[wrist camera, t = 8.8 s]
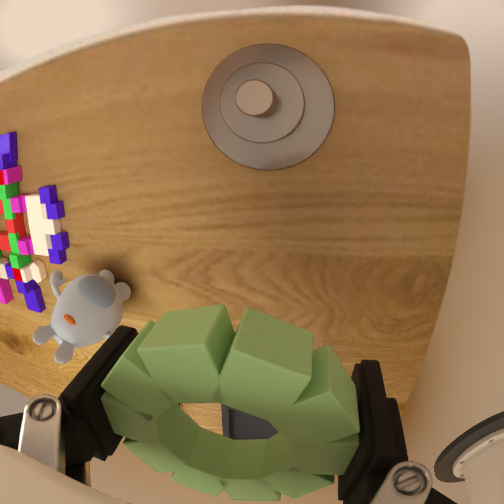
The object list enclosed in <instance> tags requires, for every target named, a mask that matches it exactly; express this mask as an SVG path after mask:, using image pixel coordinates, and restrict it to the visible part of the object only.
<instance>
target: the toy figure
mask: <svg viewBox="0 0 504 504" xmlns="http://www.w3.org/2000/svg"><path fill="white" fill-rule="evenodd" d="M61 277H62V272H61V271H59V270H55V271H53V272H52V274H51V276H50V284H51V288H52V290H53V293H54V294H55V296H56V298H57V303H56V305H55V308H54V311H53V314H52V318H51V322H50V325H49V326H42V327H38V328H37V329H36V330H35V332H34V334H33V340H34V342H35V343H36V344H38V345H42V344H44V343H45V342H47V341H48V340H49V339H51V338H52V337H53V338H54V339H55V340H56V342H57V343H58V344H60V347H59V348H58V349H57V351H56V352H55V354H54V359H55V361H56V362H58V363H61V364H64V363H66V362H68V361H69V360H70V359H71V358H72V355H73V349H75V348H81V347H85V346H88V345H91V344H94V343H96V342H99V341H101V340H103V339H104V338H106V339H108V338H109V337H110V336H111V335H112V334H111V333H113V332H114V331H115V329H116V328H117V327H118V325H119V323H120V321H121V318H122V314H123V302H122V301H126V300H128V299H129V297H130V295H131V289H130V287H129V286H128V285H127V284H126V283H124V282H118V283H116V284H115V285H114V282H115V278H114V275H113V274H112V272H111V271H109V270H106V269H105V270H102V271H100V272H99V274H98V275H96V274H85V275H81V276H79V277H77V278H75V279H73V280H72V281H71V282H70V283H69V284H68V285H67V286H66V287H65V289H64V290H63V292H62V293H60V292H59V290H58V286H59V285H61V284H63V283H65V282H66V278H65V277H63V278H61Z"/></svg>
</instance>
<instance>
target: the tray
mask: <svg viewBox="0 0 504 504" xmlns="http://www.w3.org/2000/svg"><path fill="white" fill-rule="evenodd" d="M221 407H222V426H223V436H225V437H228V438H231V439H233V440H251V439H269V438H270V437H272V436H274V435H276V434H278V433H279V432H278V431H277V430H276V429H275V428H274V427H273V425H272V424H271V423H270V422H269V421H268V420H265V419H262V418H259V417H256V416H253V415H250V414H248V413H245V412H242V411H239V410H237V409H234V408H231V407H229V406H226V405H223V404H221Z"/></svg>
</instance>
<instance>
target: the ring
mask: <svg viewBox="0 0 504 504" xmlns="http://www.w3.org/2000/svg"><path fill="white" fill-rule="evenodd" d="M312 344H313V333H312V332H311V331H308V330H306V329H303V328H301V327H298V326H295V325H293V324H290V323H288V322H285V321H283V320H280V319H278V318H275V317H273V316H270V315H268V314H265V313H263V312H260V311H258V310H255V309H253V308H250V307H247V308H246V309H245V312H244V314H243V316H242V318H241V321H240V323H239V325H238V328H237V330H236V332H234V329H233V326H232V323H231V321H230V318H229V315H228V312H227V309H226V306H225V305H224V304H219V305H213V306H206V307H199V308H192V309H185V310H178V311H170V312H165V313H164V314H163V315H162V316H161V318H160V319H159V320H158V322H157V323H156V324H155V323H154V322H153V321H151V320H150V321H148V322H147V324H146V325H145V326H144V327H143V329H142V330H141V331H140V332H139V334H138V335H137V336H136V338H135V339H134V340H133V341H132V343H131V344H130V345H129V346H128V348H127V349H126V350H125V352H124V353H123V354H122V355H121V357H120V358H119V360H118V361H117V362H116V364H115V365H114V367H113V368H112V369H111V371H110V372H109V374H108V375H107V377H106V378H105V379H104V381H103V382H102V384H101V387H102V388H103V389H105V390H106V391H105V393H104V394H103V395H102V397H101V401H102V403H103V406H104V409H105V411H106V414H107V416H108V419H109V421H110V424H111V426H112V429H113V431H114V433H115V434H118V435H121V436H124V437H126V438H125V440H124V442H123V444H124V445H125V446H126V447H127V448H128V449H129V450H130V451H132V452H133V453H134V454H135V455H136V456H137V457H139V458H140V459H141V460H142V461H144V462H145V463H146V464H147V465H149V466H150V467H151V468H152V469H154V470H155V471H156V472H170V471H174V472H173V474H172V477H171V480H172V481H174V482H177V483H180V484H182V485H185V486H187V487H190V488H193V489H196V490H198V491H201V492H204V493H207V494H210V495H213V496H218V494H219V493H220V492H221V491H222V490H223V489H224V490H225V491H226V493H227V494H228V495H229V497H230V498H231V499H232V500H249V501H280V498H281V493H282V494H284V495H287V496H290V497H292V498H298V497H300V496H303V495H306V494H309V493H311V492H314V491H316V490H319V489H321V488H324V487H326V486H329V485H331V484H333V483H334V475H344V473H345V471H346V469H347V467H348V465H349V464H350V462H351V460H352V458H353V456H354V454H355V452H356V450H357V448H358V446H359V432H360V427H359V416H358V405H357V396H356V386H355V384H354V383H353V381H352V379H351V378H350V376H349V375H348V373H347V372H346V370H345V368H344V367H343V365H342V364H341V362H340V361H339V359H338V357H337V356H336V354H335V353H334V351H333V350H332V348H331V346H330V345H326V346H323V347H321V348H319V349H316V350H314V351H312ZM179 403H221V404H223V405H226V406H229V407H231V408H234V409H237V410H239V411H242V412H245V413H248V414H250V415H253V416H256V417H259V418H262V419H265V420H268V421H269V422H270V423H271V424H272V425H273V427H274V428H275V429H276V430H277V431H278V432H279V433H278V434H276V435H274V436H272V437H270V438H269V439H251V440H233V439H231V438H228V437H225V436H222V435H220V434H217V433H214V432H212V431H209V430H206V429H204V428H201V427H200V426H199V425H198V424H197V423H196V422H195V421H194V420H193V419H192V418H191V417H190V416H189V415H187V414H186V413H185V412H184V411H183V410H182V409H181V408H180V407H179Z"/></svg>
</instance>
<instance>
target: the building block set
mask: <svg viewBox="0 0 504 504" xmlns="http://www.w3.org/2000/svg"><path fill="white" fill-rule="evenodd" d="M16 160H17V143H16V132H11V133H7V134H3V135H0V214H4V215H5V221H6V227H7V232H3V231H0V302H1V303H4V304H7V303H9V302H10V301H11V300H13V299H14V298H13V295H12V292H11V288H10V285H9V281H8V279H10V278H12V279H15V282H16V285H17V289H18V292H19V293H23V294H24V297H25V301H26V304H27V307H28V309H29V310H32V311H36V312H39V313H41V312H42V311H43V310H45V309H46V308H45V305H44V301H43V297H42V294H41V290H40V286H37V283H38V282H40V281H42V280H43V279H45V278H46V277H47V274H46V269H45V265H44V263H43V262H42V261H40V260H39V259H38V260H36V261H35V262H31V258H30V254H37V255H44V256H49V259H50V263H54V264H62V263H63V262H65V261H66V255H65V249H66V248H68V247H69V242H68V236H67V232H61V225H60V218H62V217H65V215H64V207H63V201H57V194H56V185H53V186H44V187H41V188H38V189H39V194H19V192H18V183H17V181H20V180H22V175H21V166H17V164H16ZM14 166H15V167H14ZM23 211H25V212H27V215H28V222H29V228H30V233H31V236H26V233H25V228H24V222H23V216H22V212H23ZM1 250H6V251H11V252H12V253H11V254H9V258H10V261H9V258H4V257H2V254H1ZM36 282H37V283H36Z"/></svg>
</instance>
